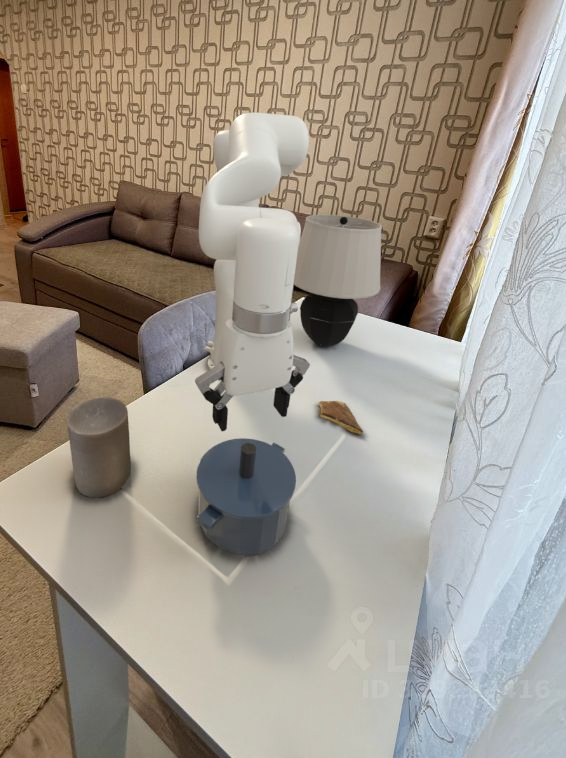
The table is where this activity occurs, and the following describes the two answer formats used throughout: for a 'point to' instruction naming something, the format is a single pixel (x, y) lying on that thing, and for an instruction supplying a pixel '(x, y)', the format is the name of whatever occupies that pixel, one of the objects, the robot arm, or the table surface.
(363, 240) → the table lamp
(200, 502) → the pot
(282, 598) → the table surface
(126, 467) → the pillar candle
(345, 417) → the cake slice
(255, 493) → the lid
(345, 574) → the table surface
